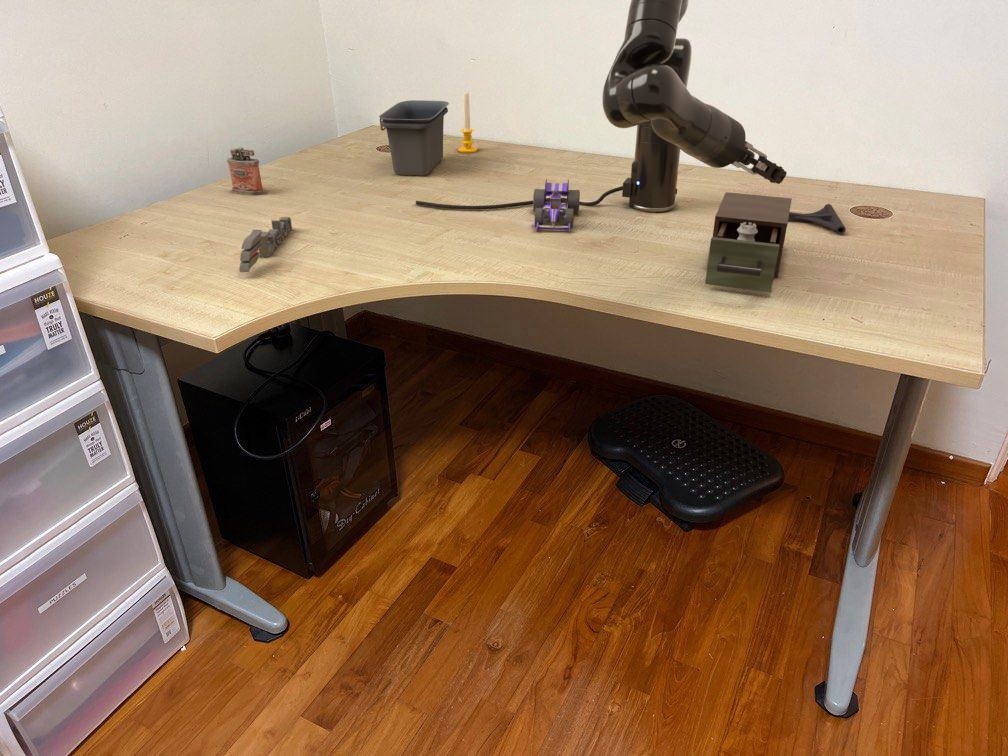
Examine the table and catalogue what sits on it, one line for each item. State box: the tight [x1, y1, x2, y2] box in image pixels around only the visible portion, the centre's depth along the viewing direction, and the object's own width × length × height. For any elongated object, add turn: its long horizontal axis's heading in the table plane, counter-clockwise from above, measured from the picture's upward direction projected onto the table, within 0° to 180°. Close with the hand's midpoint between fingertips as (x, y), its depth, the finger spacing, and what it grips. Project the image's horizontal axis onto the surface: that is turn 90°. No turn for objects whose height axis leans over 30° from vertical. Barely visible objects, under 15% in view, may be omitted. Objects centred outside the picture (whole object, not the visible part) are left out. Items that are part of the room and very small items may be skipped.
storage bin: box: [378, 99, 450, 177], centre depth 190 cm, size 21×16×14 cm
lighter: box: [226, 146, 265, 196], centre depth 174 cm, size 8×3×10 cm, turn 68°
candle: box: [458, 91, 478, 154], centre depth 204 cm, size 5×5×16 cm
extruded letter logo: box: [239, 216, 293, 273], centre depth 141 cm, size 25×2×6 cm, turn 177°
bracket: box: [788, 203, 846, 235], centre depth 154 cm, size 14×15×3 cm
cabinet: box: [712, 191, 793, 279], centre depth 135 cm, size 15×12×10 cm
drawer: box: [704, 222, 779, 294], centre depth 125 cm, size 18×10×8 cm, turn 159°
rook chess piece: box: [737, 222, 758, 242], centre depth 125 cm, size 4×4×8 cm
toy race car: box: [532, 178, 581, 233], centre depth 155 cm, size 10×15×6 cm, turn 174°
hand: (763, 166), depth 125 cm, fingers open, 8 cm apart
